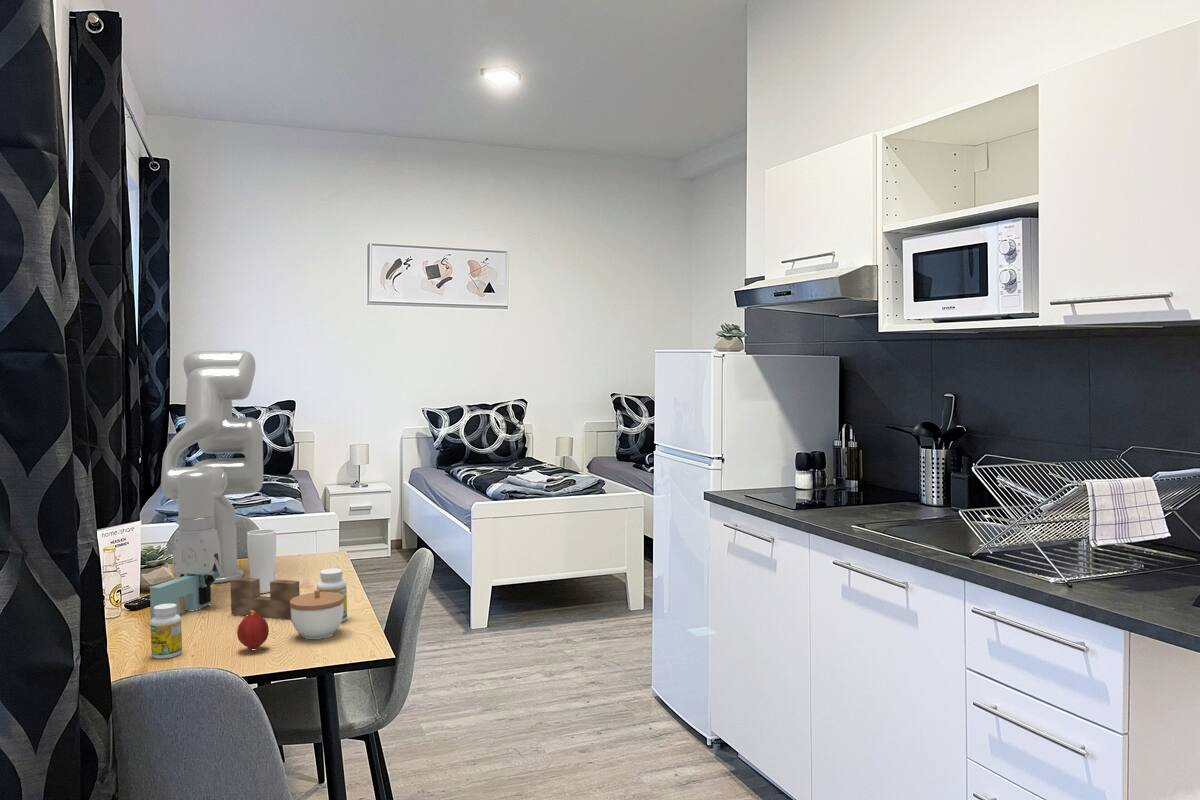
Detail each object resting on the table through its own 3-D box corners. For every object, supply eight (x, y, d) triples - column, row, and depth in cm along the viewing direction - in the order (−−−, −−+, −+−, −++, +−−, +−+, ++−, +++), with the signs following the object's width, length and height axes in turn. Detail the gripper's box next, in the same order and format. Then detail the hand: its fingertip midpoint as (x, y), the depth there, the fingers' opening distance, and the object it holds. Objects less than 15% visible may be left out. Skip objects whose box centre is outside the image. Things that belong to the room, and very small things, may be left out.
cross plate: (160, 624, 192) (159, 587, 191) (151, 623, 192) (149, 587, 192) (211, 604, 207) (210, 570, 207) (202, 604, 208) (201, 570, 207)
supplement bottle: (188, 651, 173) (186, 603, 173) (167, 660, 168) (165, 610, 167) (166, 649, 175) (164, 601, 174) (144, 658, 169) (143, 608, 169)
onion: (243, 645, 176) (242, 606, 176) (272, 644, 177) (271, 605, 176) (233, 655, 170) (232, 614, 170) (264, 654, 171) (263, 613, 170)
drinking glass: (267, 595, 215) (265, 534, 214) (242, 594, 216) (240, 533, 215) (282, 588, 221) (281, 529, 221) (258, 587, 223) (256, 528, 222)
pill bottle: (319, 617, 195) (318, 568, 195) (348, 615, 196) (347, 566, 196) (316, 625, 189) (314, 574, 189) (346, 623, 190) (344, 573, 190)
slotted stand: (231, 615, 198) (230, 579, 198) (238, 612, 201) (237, 577, 200) (293, 619, 194) (292, 583, 194) (300, 616, 196) (299, 580, 196)
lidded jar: (299, 628, 188) (297, 584, 187) (350, 626, 188) (349, 583, 188) (284, 644, 177) (282, 598, 176) (338, 642, 177) (337, 596, 177)
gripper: (155, 525, 203) (158, 605, 204) (215, 528, 199) (217, 609, 199) (179, 520, 210) (181, 596, 211) (237, 522, 206) (239, 600, 206)
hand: (199, 602), depth 205 cm, fingers closed on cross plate, 2 cm apart
